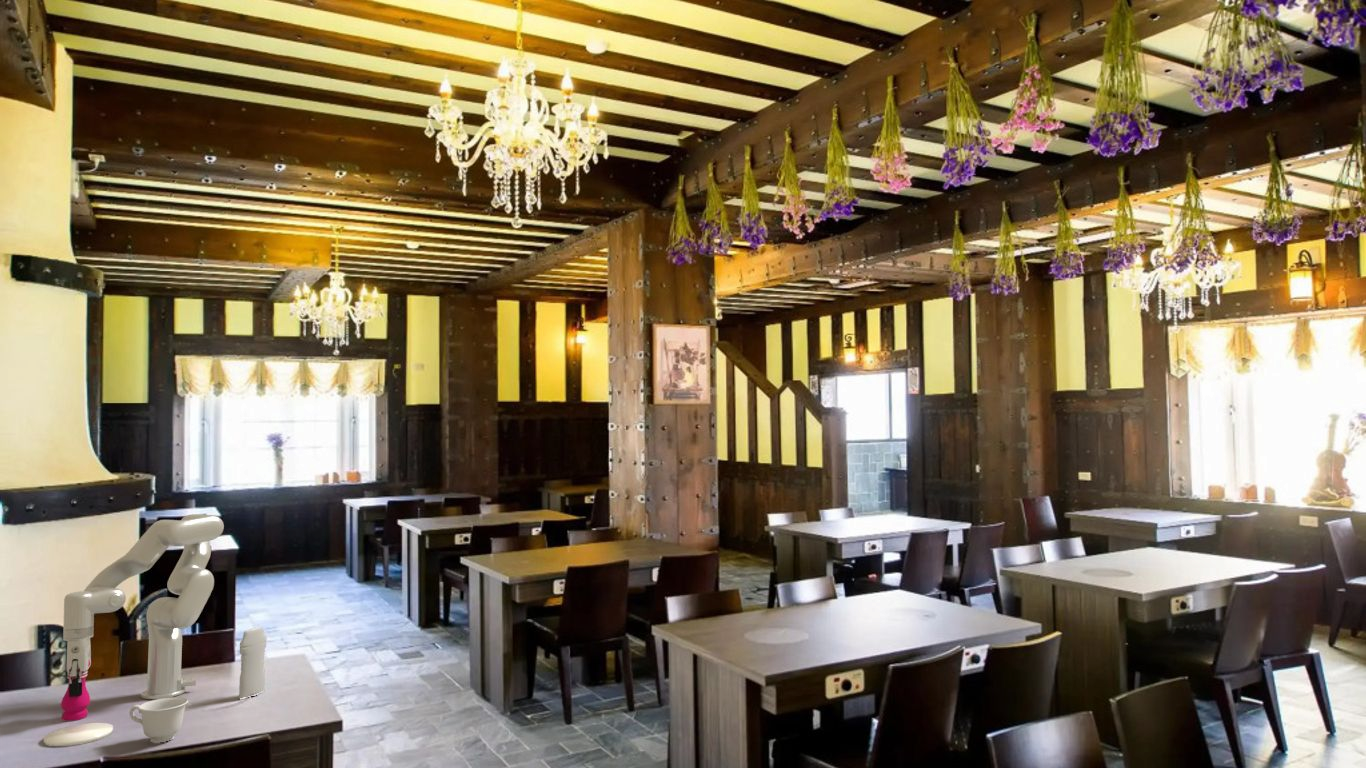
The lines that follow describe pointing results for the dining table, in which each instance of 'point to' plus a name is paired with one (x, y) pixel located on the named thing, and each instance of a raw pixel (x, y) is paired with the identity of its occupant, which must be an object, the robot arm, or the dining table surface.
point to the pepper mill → (76, 701)
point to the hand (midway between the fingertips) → (77, 693)
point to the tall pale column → (252, 662)
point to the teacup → (161, 717)
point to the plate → (78, 734)
